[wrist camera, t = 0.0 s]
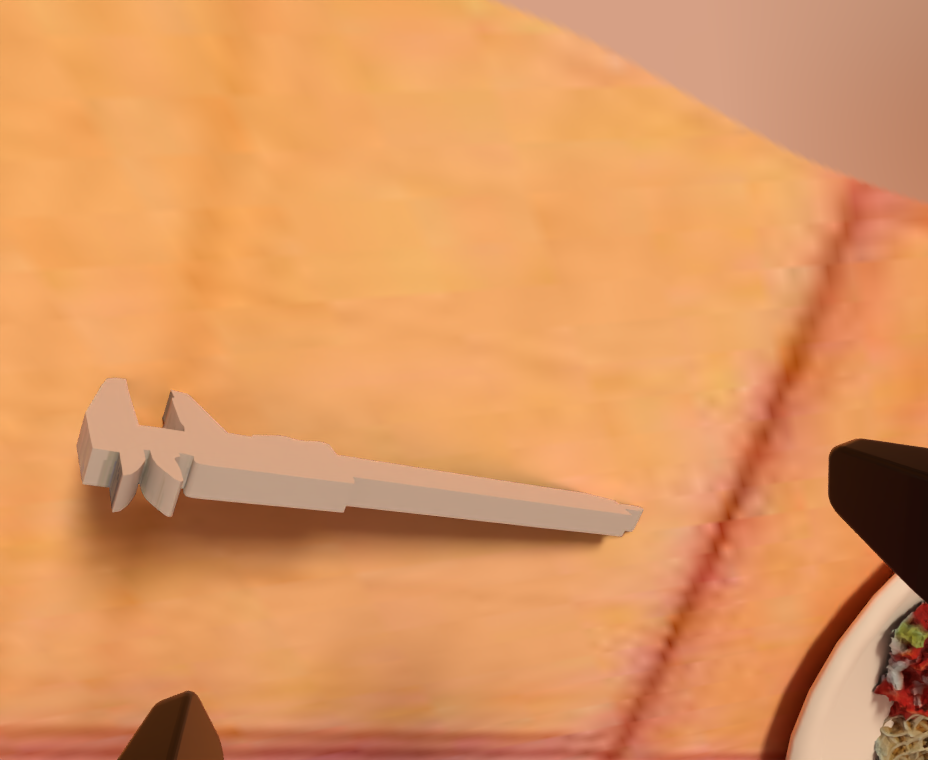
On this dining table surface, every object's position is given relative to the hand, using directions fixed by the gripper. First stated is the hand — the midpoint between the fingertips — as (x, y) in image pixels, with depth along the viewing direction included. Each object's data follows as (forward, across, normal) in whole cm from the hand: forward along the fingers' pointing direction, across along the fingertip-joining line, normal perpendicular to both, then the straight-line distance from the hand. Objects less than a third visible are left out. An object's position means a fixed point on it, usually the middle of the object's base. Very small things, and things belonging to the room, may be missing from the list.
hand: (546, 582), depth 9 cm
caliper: (+15, 0, +6) cm, 16 cm away
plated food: (+15, -29, +32) cm, 46 cm away
